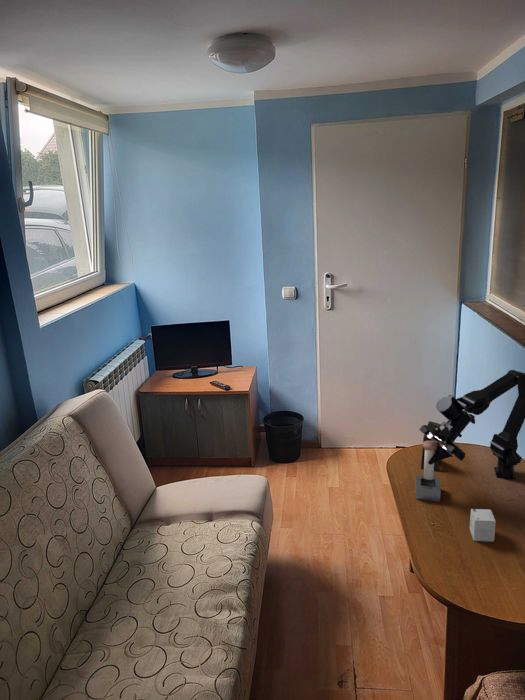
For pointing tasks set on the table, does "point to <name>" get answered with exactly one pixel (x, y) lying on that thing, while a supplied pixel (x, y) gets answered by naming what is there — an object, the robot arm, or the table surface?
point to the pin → (429, 452)
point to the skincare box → (482, 525)
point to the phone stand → (423, 459)
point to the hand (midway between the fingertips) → (425, 461)
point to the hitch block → (428, 488)
